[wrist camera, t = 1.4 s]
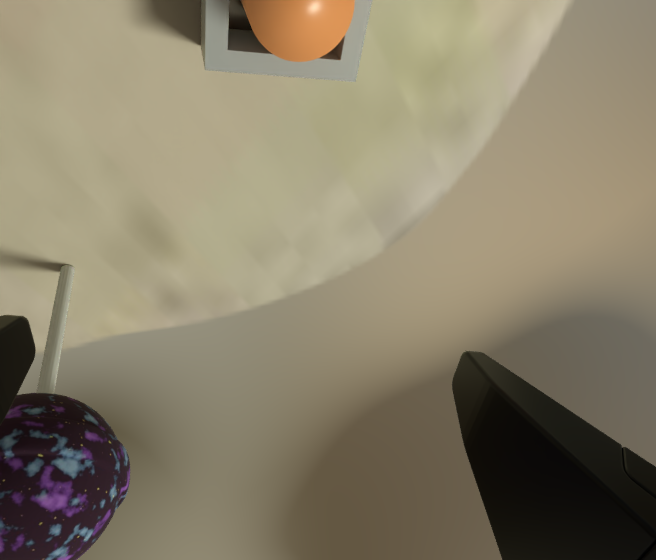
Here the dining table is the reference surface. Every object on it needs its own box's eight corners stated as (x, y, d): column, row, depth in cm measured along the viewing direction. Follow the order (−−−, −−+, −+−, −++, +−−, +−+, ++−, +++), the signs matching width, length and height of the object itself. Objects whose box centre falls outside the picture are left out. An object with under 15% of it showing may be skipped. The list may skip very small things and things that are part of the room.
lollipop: (121, 209, 25) (97, 512, 15) (148, 305, 30) (144, 587, 19) (-34, 224, 24) (-184, 570, 13) (20, 322, 28) (-60, 636, 18)
